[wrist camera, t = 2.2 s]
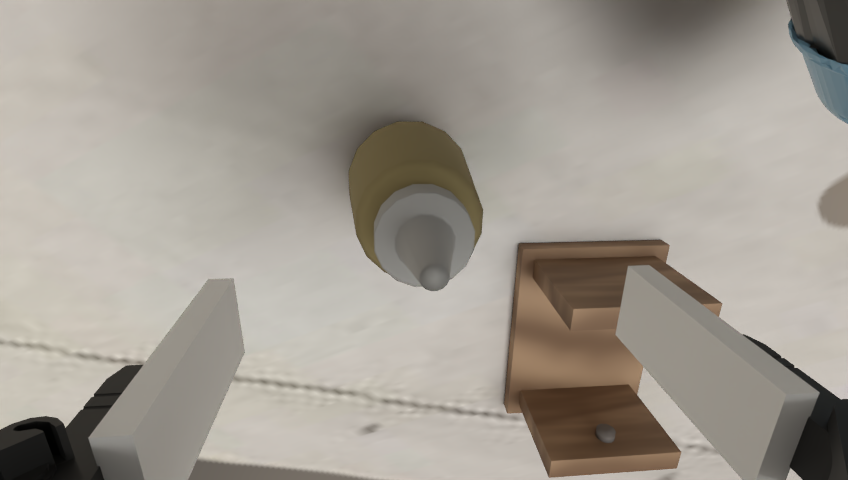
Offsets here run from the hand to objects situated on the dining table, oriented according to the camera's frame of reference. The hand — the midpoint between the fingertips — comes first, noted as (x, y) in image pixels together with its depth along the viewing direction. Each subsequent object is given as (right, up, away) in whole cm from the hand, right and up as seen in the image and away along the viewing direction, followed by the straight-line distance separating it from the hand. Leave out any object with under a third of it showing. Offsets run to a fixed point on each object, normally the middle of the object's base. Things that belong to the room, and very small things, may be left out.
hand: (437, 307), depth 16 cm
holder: (+13, -5, +25) cm, 29 cm away
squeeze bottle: (-2, +7, +19) cm, 20 cm away
